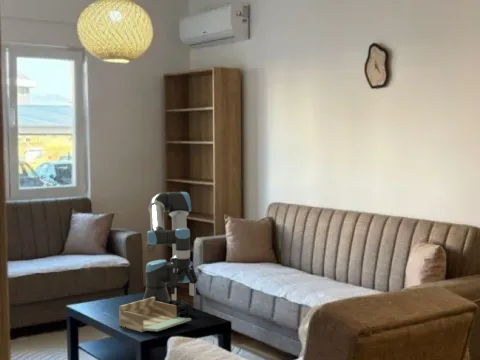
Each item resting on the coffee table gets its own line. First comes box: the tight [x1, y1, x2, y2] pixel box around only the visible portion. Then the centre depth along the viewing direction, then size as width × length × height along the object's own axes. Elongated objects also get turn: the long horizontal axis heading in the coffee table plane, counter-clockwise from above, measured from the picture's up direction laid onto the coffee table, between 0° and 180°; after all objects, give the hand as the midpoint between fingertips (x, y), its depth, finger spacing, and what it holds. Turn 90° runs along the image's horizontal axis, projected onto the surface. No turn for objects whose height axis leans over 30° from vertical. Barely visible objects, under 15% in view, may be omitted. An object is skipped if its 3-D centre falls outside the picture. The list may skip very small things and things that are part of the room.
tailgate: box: [143, 316, 192, 332], centre depth 321 cm, size 24×1×10 cm
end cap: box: [173, 299, 194, 318], centre depth 346 cm, size 10×7×7 cm
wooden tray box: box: [118, 297, 177, 333], centre depth 329 cm, size 24×16×10 cm
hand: (183, 297), depth 345 cm, fingers open, 13 cm apart
